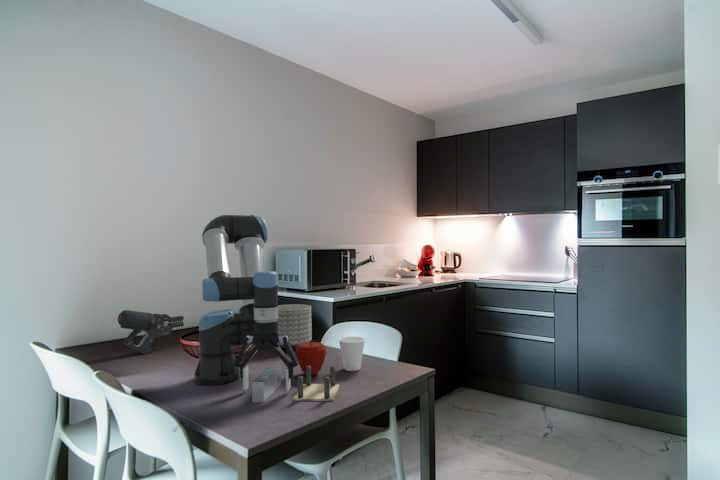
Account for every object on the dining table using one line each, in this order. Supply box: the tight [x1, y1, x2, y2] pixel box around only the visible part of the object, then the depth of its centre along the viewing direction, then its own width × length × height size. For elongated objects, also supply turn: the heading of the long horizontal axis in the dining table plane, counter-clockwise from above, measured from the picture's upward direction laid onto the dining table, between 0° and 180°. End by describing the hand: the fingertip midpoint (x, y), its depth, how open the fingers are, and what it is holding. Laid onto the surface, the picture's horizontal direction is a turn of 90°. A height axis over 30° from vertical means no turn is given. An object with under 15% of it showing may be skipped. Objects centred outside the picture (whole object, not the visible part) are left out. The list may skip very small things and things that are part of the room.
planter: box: [277, 303, 313, 350], centre depth 189 cm, size 19×19×18 cm
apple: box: [294, 340, 327, 376], centre depth 147 cm, size 11×11×12 cm
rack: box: [292, 365, 340, 402], centre depth 128 cm, size 12×13×7 cm
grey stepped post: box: [251, 364, 282, 403], centre depth 130 cm, size 17×4×6 cm, turn 175°
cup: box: [338, 336, 366, 372], centre depth 153 cm, size 10×10×11 cm
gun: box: [117, 309, 185, 355], centre depth 184 cm, size 7×28×20 cm, turn 144°
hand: (266, 388), depth 129 cm, fingers open, 13 cm apart
